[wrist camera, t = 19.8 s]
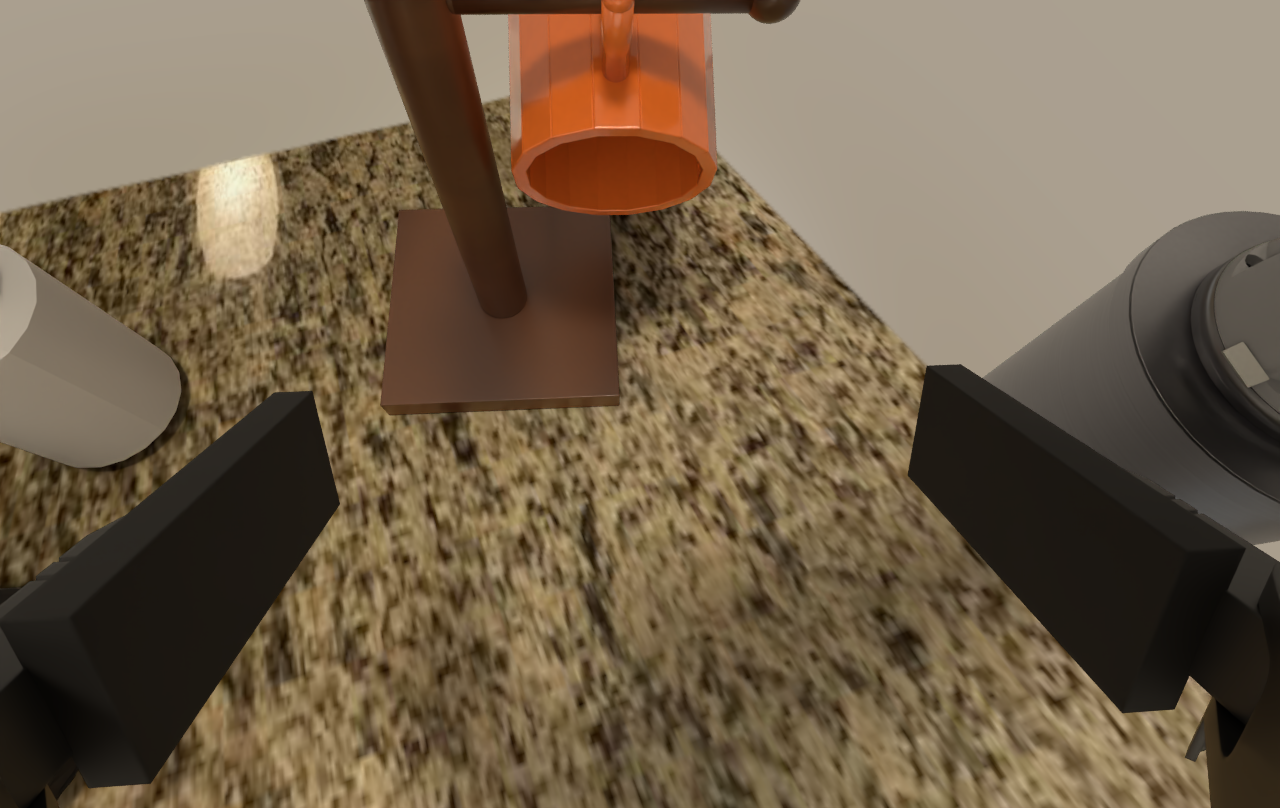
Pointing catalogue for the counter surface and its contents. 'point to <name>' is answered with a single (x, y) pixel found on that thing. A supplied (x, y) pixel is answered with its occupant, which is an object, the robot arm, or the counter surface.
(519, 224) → the stand
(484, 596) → the counter surface
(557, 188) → the mug
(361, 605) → the counter surface
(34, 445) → the can
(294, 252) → the counter surface
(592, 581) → the counter surface
